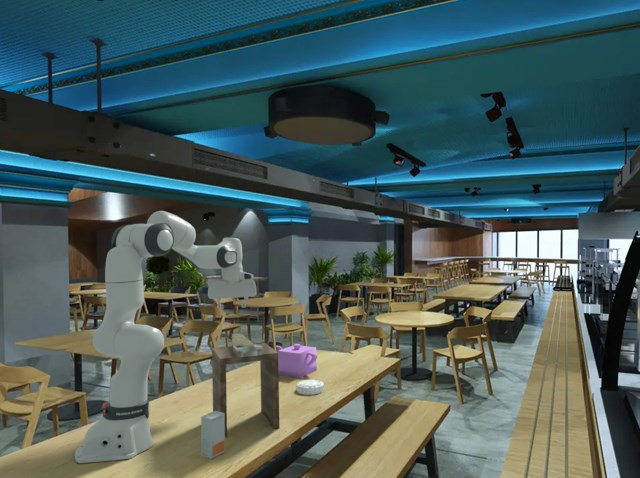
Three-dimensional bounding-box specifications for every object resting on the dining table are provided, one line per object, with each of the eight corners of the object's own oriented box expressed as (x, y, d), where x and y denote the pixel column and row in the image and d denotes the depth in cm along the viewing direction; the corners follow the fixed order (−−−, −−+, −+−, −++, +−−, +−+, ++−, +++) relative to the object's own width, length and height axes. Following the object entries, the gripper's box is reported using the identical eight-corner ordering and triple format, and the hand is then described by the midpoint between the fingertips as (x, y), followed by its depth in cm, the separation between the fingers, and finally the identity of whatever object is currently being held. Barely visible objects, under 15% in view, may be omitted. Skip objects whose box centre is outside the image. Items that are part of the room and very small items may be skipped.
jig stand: (221, 438, 151) (220, 350, 152) (213, 419, 169) (211, 339, 169) (280, 429, 159) (278, 344, 159) (266, 411, 176) (265, 335, 176)
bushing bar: (244, 356, 155) (243, 345, 155) (232, 343, 176) (232, 334, 176) (254, 355, 157) (254, 344, 157) (241, 342, 177) (241, 333, 177)
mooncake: (291, 393, 198) (291, 384, 198) (304, 385, 209) (304, 377, 209) (316, 396, 193) (316, 388, 193) (328, 388, 203) (328, 380, 203)
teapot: (284, 365, 243) (283, 339, 243) (324, 371, 230) (324, 343, 230) (266, 372, 230) (265, 344, 230) (308, 379, 217) (307, 349, 217)
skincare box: (211, 459, 137) (210, 419, 137) (201, 456, 139) (200, 416, 139) (225, 451, 142) (225, 412, 142) (215, 448, 144) (215, 410, 144)
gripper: (208, 276, 189) (208, 310, 188) (257, 275, 196) (257, 307, 196) (206, 276, 195) (206, 309, 194) (253, 274, 202) (254, 305, 202)
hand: (232, 308), depth 195 cm, fingers open, 8 cm apart
